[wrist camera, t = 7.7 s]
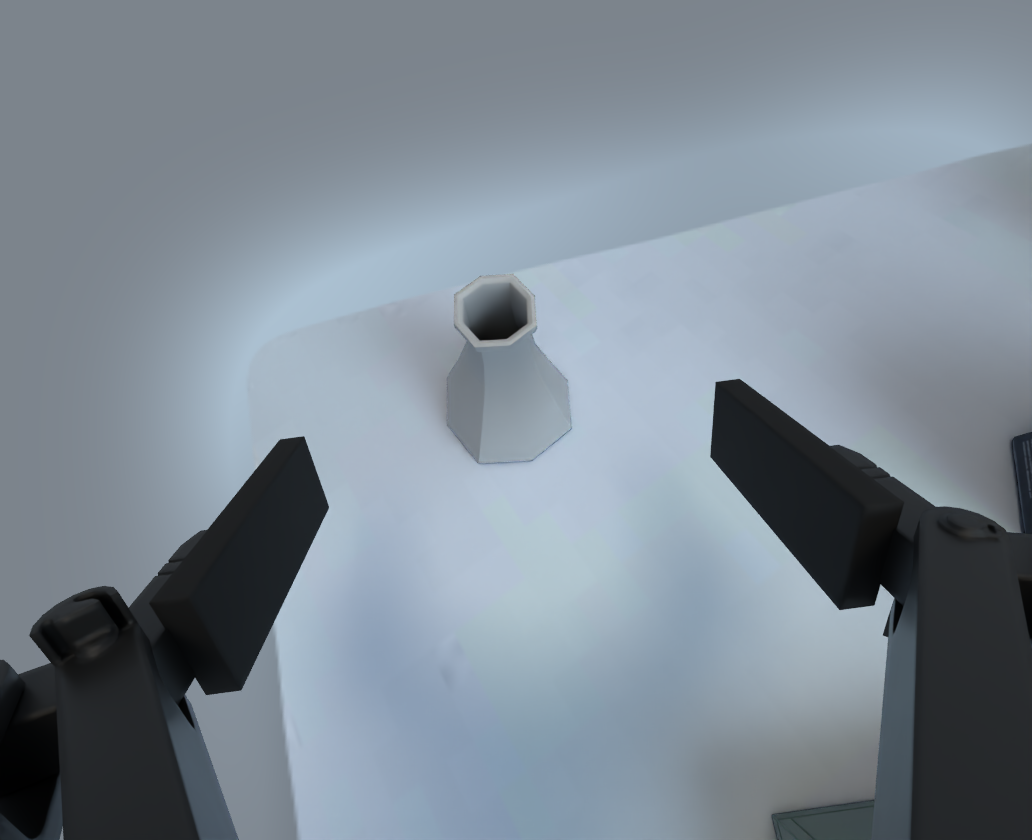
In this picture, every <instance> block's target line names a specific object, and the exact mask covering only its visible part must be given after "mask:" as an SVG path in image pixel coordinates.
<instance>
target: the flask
mask: <svg viewBox="0 0 1032 840" xmlns="http://www.w3.org/2000/svg"><path fill="white" fill-rule="evenodd" d="M454 326H455V328H456V329H457V330H458V331H459V333H460V334H461V335H462V336H463V337H464V338H465V339H466V340H467V342H466V344H465V346H464V349H463V351H462V353H461V355H460V357H459V359H458V361H457V362H456V364H455V365H454V367H453V368H452V370H451V372H450V373H449V375H448V377H447V425H448V427H449V428H450V429H451V430H452V432H453V433H454V434H455V435H456V436H457V438H458V439H459V440H460V441H461V442H462V444H463V445H464V446H465V447H466V449H467V450H468V451H469V452H470V453H471V455H472V456H473V457H474V458H475V459H476V461H477V462H478V463H498V462H517V461H532V460H533V459H534V458H536V457H537V456H538V455H539V454H541V453H542V452H543V451H544V450H545V449H547V448H548V447H549V446H550V445H552V444H553V443H554V442H555V441H556V440H558V439H559V438H560V437H561V436H563V435H564V434H565V433H566V432H567V431H569V430H570V429H571V428H572V426H571V415H570V403H569V392H568V380H567V379H566V378H565V377H564V375H563V374H562V373H561V372H560V371H559V370H558V369H557V368H556V367H555V366H554V365H553V364H552V363H551V362H550V361H549V360H548V358H547V357H546V356H545V355H544V353H543V352H542V351H541V350H540V349H539V347H538V346H537V345H536V344H535V341H534V339H533V336H532V333H534V332H535V331H536V329H537V322H536V307H535V295H534V294H533V293H532V292H531V291H530V290H529V289H528V288H527V287H526V286H525V285H524V284H523V283H522V282H521V281H520V280H519V279H518V278H517V277H516V276H515V275H514V274H504V275H489V276H479V277H478V278H477V279H475V280H474V281H472V282H471V283H470V284H468V285H467V286H465V287H464V288H463V289H461V290H460V291H458V292H457V293H456V294H454Z"/></svg>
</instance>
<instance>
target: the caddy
mask: <svg viewBox="0 0 1032 840" xmlns="http://www.w3.org/2000/svg"><path fill="white" fill-rule="evenodd" d="M874 802H875V800H873V801H866V802H859V803H852V804H844V805H837V806H830V807H823V808H816V809H809V810H802V811H795V812H788V813H781V814H774V815H772V818H773V822H774V826H775V830H776V834H777V838H778V840H871V837H872V826H873V814H874Z"/></svg>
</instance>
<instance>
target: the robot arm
mask: <svg viewBox="0 0 1032 840" xmlns="http://www.w3.org/2000/svg"><path fill="white" fill-rule="evenodd" d="M710 457H711V458H712V459H713V460H714V462H715V463H716V464H717V465H718V466H719V468H720V469H721V470H722V471H723V472H724V473H725V475H726V476H727V477H728V478H729V479H730V481H731V482H732V483H733V484H734V485H735V487H736V488H737V489H738V490H739V491H740V492H741V494H742V495H743V496H744V497H745V498H746V500H747V501H748V502H749V503H750V504H751V505H752V507H753V508H754V509H755V510H756V511H757V513H758V514H759V515H760V516H761V517H762V519H763V520H764V521H765V522H766V523H767V524H768V526H769V527H770V528H771V529H772V530H773V532H774V533H775V534H776V535H777V536H778V538H779V539H780V540H781V541H782V542H783V543H784V545H785V546H786V547H787V548H788V549H789V551H790V552H791V553H792V554H793V555H794V557H795V558H796V559H797V560H798V561H799V562H800V564H801V565H802V566H803V567H804V568H805V570H806V571H807V572H808V573H809V574H810V576H811V577H812V578H813V579H814V580H815V581H816V583H817V584H818V585H819V586H820V587H821V589H822V590H823V591H824V592H825V593H826V594H827V596H828V597H829V598H830V599H831V600H832V602H833V603H834V604H835V605H836V606H837V608H838V609H839V610H843V609H851V608H858V607H866V606H873V605H875V601H876V598H877V594H878V591H879V587H880V584H881V585H882V586H883V587H884V588H885V589H886V590H887V591H888V592H889V593H890V594H891V595H892V596H893V597H894V601H893V604H892V607H891V611H890V614H889V617H888V620H887V623H886V627H885V630H884V633H883V636H886V637H888V648H887V660H886V671H885V683H884V695H883V707H882V719H881V731H880V743H879V754H878V766H877V778H876V790H875V802H874V814H873V826H872V837H871V840H1032V534H1025V533H1012V532H1006V530H1005V529H1004V528H1003V527H1001V526H1000V525H999V524H997V523H996V522H995V521H993V520H991V519H989V518H987V517H985V516H982V515H980V514H978V513H975V512H971V511H968V510H964V509H960V508H953V507H935V506H934V505H932V504H931V503H930V502H928V501H927V500H925V499H924V498H922V497H921V496H920V495H918V494H917V493H915V492H914V491H913V490H911V489H910V488H908V487H907V486H905V485H904V484H903V483H901V482H900V481H898V480H897V479H896V478H894V477H890V474H888V473H887V472H886V471H884V470H883V469H881V468H880V467H878V468H877V466H876V464H874V463H873V462H872V461H870V460H869V459H867V458H866V457H864V456H863V455H862V454H860V453H858V452H855V451H853V450H850V449H848V448H845V447H843V446H840V445H834V446H829V445H827V444H826V443H825V442H823V441H822V440H821V439H819V438H818V437H817V436H815V435H814V434H813V433H811V432H810V431H809V430H807V429H806V428H805V427H803V426H802V425H801V424H799V423H798V422H797V421H795V420H794V419H793V418H791V417H790V416H789V415H787V414H786V413H785V412H783V411H782V410H781V409H779V408H778V407H777V406H775V405H774V404H773V403H771V402H770V401H769V400H767V399H766V398H765V397H763V396H762V395H760V394H759V393H758V392H756V391H755V390H754V389H752V388H751V387H750V386H748V385H747V384H746V383H744V382H743V381H742V380H740V379H736V380H728V381H720V382H716V386H715V400H714V414H713V428H712V442H711V455H710ZM328 509H329V506H328V503H327V500H326V497H325V494H324V491H323V489H322V486H321V483H320V480H319V477H318V474H317V472H316V469H315V466H314V463H313V460H312V457H311V454H310V452H309V449H308V446H307V443H306V440H305V437H304V436H303V437H296V438H288V439H281V440H279V441H278V443H277V444H276V445H275V446H274V448H273V449H272V450H271V451H270V453H269V454H268V455H267V456H266V458H265V459H264V460H263V461H262V463H261V464H260V465H259V466H258V468H257V469H256V470H255V471H254V473H253V474H252V475H251V476H250V478H249V479H248V480H247V481H246V483H245V484H244V485H243V486H242V488H241V489H240V490H239V492H238V493H237V494H236V495H235V496H234V498H233V499H232V500H231V501H230V502H229V504H228V505H227V506H226V508H225V509H224V510H223V511H222V512H221V514H220V515H219V516H218V517H217V519H216V520H215V521H214V522H213V524H212V525H211V526H210V527H209V529H208V530H204V531H200V532H198V533H197V534H196V535H194V536H193V537H192V538H190V539H189V540H188V541H186V542H185V543H184V544H182V545H181V546H180V547H179V549H178V550H177V551H176V552H175V553H174V554H173V556H172V557H171V558H170V559H169V563H167V564H165V565H164V566H163V568H162V569H161V570H160V571H159V572H158V576H155V577H154V578H153V580H152V581H151V582H150V583H149V584H148V585H147V587H146V588H145V589H144V590H143V591H142V593H141V594H140V595H139V596H138V597H137V599H136V600H135V601H134V602H133V603H132V604H131V606H130V607H129V608H128V607H127V605H126V603H125V602H124V600H123V599H122V597H121V596H120V594H119V593H118V592H117V590H116V589H115V588H114V587H107V586H102V587H97V588H92V589H88V590H85V591H83V592H80V593H78V594H76V595H73V596H71V597H69V598H67V599H66V600H64V601H62V602H60V603H59V604H57V605H55V606H54V607H53V608H52V609H50V610H49V611H48V612H46V613H45V614H44V615H42V617H41V618H40V619H39V620H38V621H37V622H36V623H35V624H34V625H33V627H32V630H31V632H30V637H31V638H32V640H33V641H34V642H35V643H36V644H37V646H38V647H39V648H40V649H41V651H42V652H43V653H44V654H45V656H46V657H47V658H48V659H49V661H50V662H51V663H49V664H47V665H44V666H41V667H38V668H35V669H32V670H30V671H27V672H24V673H21V674H19V675H18V674H17V673H16V672H15V670H14V669H13V668H12V667H11V666H10V665H9V664H8V663H7V662H5V661H4V660H0V840H59V839H60V834H61V831H62V827H63V836H64V840H239V839H238V836H237V833H236V831H235V828H234V825H233V822H232V819H231V816H230V813H229V811H228V808H227V805H226V802H225V799H224V796H223V794H222V791H221V788H220V785H219V782H218V779H217V776H216V773H215V771H214V768H213V765H212V762H211V760H210V756H209V753H208V751H207V748H206V745H205V742H204V739H203V736H202V733H201V731H200V728H199V725H198V722H197V719H196V717H195V713H194V711H193V708H192V705H191V703H190V702H189V700H188V699H187V697H186V696H185V693H186V691H187V690H188V688H189V686H190V685H191V683H192V681H193V679H194V678H196V680H197V681H198V683H199V684H200V686H201V688H202V689H203V691H204V692H205V694H206V695H210V694H218V693H225V692H233V691H239V690H242V688H243V686H244V684H245V681H246V679H247V677H248V675H249V673H250V671H251V669H252V667H253V665H254V663H255V661H256V658H257V656H258V654H259V652H260V650H261V648H262V646H263V644H264V642H265V640H266V638H267V636H268V634H269V631H270V629H271V627H272V625H273V623H274V621H275V619H276V617H277V615H278V613H279V611H280V609H281V606H282V604H283V602H284V600H285V598H286V596H287V594H288V592H289V590H290V588H291V586H292V584H293V581H294V579H295V577H296V575H297V573H298V571H299V569H300V567H301V565H302V563H303V561H304V559H305V556H306V554H307V552H308V550H309V548H310V546H311V544H312V542H313V540H314V538H315V536H316V534H317V531H318V529H319V527H320V525H321V523H322V521H323V519H324V517H325V515H326V513H327V511H328Z"/></svg>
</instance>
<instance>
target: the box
mask: <svg viewBox="0 0 1032 840" xmlns="http://www.w3.org/2000/svg"><path fill="white" fill-rule="evenodd" d="M1013 450H1014V458H1015V465H1016V472H1017V479H1018V486H1019V495H1020V501H1021V509H1022V515H1023V524H1024V529H1025V534H1032V432H1030V433H1026V434H1023V435H1020V436H1017V437H1014V439H1013Z"/></svg>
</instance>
